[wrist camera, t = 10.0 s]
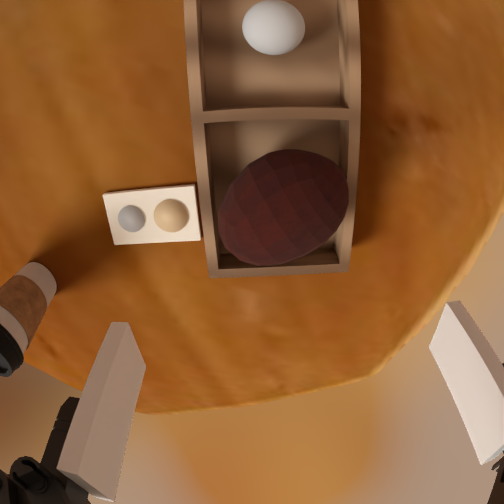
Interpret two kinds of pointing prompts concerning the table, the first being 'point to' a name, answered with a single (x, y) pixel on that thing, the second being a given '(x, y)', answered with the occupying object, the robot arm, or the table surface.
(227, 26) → the divided wooden tray
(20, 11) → the table surface
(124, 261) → the table surface
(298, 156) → the dark brown ovoid
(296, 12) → the ball
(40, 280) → the coffee cup
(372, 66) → the table surface
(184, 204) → the tile
